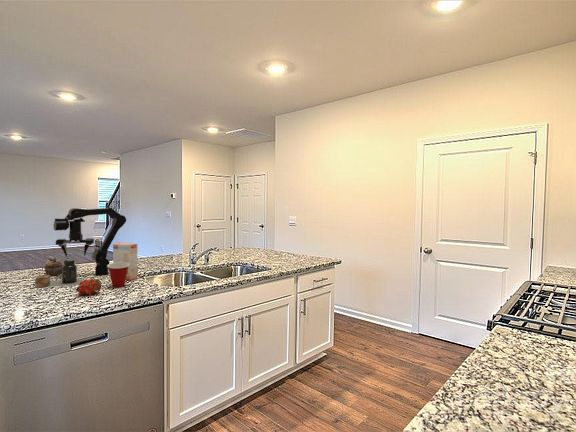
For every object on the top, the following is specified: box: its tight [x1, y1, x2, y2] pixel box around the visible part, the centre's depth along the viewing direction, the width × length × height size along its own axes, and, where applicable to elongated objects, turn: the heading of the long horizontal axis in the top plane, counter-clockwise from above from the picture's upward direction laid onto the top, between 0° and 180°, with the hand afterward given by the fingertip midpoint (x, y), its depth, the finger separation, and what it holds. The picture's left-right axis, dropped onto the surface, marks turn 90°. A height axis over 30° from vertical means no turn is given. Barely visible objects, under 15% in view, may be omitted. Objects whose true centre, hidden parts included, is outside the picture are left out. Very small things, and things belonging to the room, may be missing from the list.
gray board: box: [37, 278, 85, 289], centre depth 181 cm, size 20×14×1 cm
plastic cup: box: [107, 262, 129, 288], centre depth 181 cm, size 11×11×12 cm
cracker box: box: [112, 242, 138, 281], centre depth 199 cm, size 14×6×21 cm, turn 65°
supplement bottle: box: [61, 259, 78, 284], centre depth 183 cm, size 7×7×12 cm
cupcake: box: [44, 257, 64, 277], centre depth 205 cm, size 10×10×10 cm
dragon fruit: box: [75, 277, 102, 296], centre depth 165 cm, size 8×8×12 cm
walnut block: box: [34, 274, 51, 289], centre depth 175 cm, size 5×5×5 cm
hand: (75, 256), depth 198 cm, fingers open, 9 cm apart
